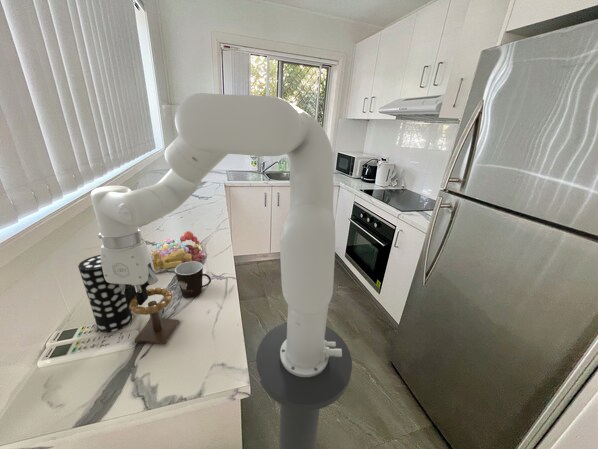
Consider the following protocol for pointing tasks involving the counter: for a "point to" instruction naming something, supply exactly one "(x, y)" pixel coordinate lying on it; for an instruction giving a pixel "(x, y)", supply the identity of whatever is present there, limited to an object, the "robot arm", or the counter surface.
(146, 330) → the stand
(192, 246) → the candy platter
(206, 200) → the counter surface
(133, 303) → the ring
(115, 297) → the white-spotted black cylinder
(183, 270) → the coffee mug
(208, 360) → the counter surface
